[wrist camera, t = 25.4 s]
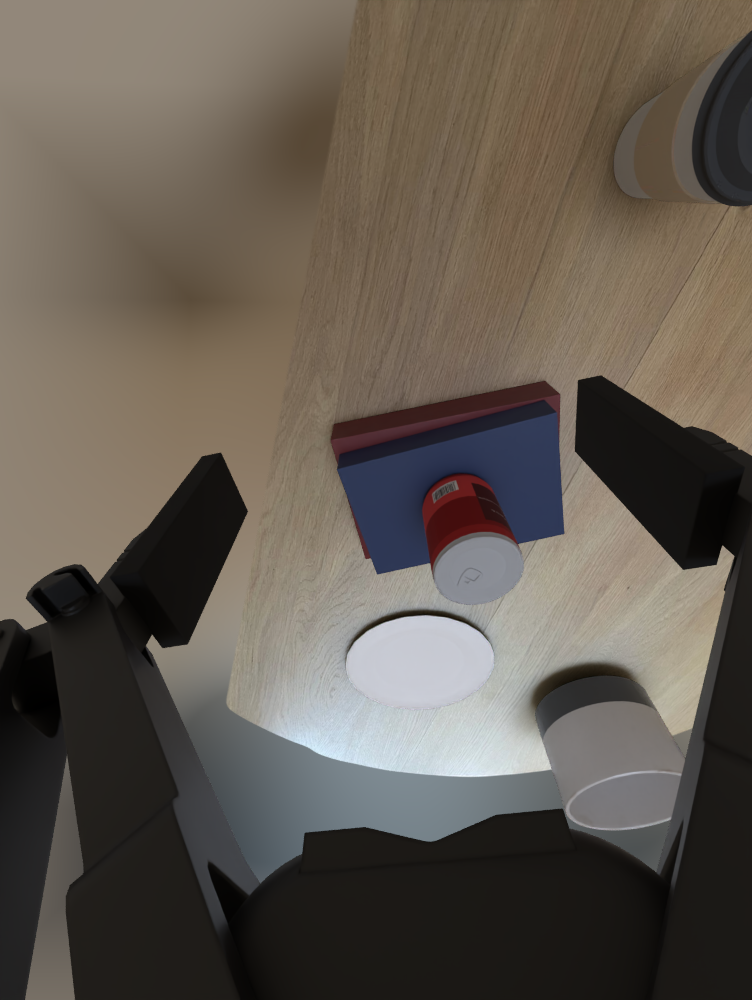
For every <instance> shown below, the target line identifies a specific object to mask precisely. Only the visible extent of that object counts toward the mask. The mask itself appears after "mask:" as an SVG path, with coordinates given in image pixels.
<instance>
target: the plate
mask: <svg viewBox="0 0 752 1000" xmlns="http://www.w3.org/2000/svg"><path fill="white" fill-rule="evenodd" d="M345 667H346V671H347V675H348V679H349V680H350V681H351V683H352V684H353V686H354V687H355V688H356V689H357V690H358V691H359V692H360V693H362V694H363V695H364V696H366V697H367V698H369V699H371V700H373V701H376V702H378V703H380V704H382V705H386V706H390V707H394V708H399V709H411V710H420V709H433V708H438V707H442V706H447V705H450V704H453V703H455V702H458V701H460V700H463V699H465V698H467V697H468V696H470V695H471V694H473V693H474V692H476V691H477V690H479V689H480V688H481V686H482V685H483V684H484V683H485V682H486V681H487V680H488V679H489V677H490V674H491V672H492V670H493V668H494V653H493V650H492V647H491V645H490V642H489V641H488V640H487V639H486V638H485V637H484V636H483V634H482V633H481V632H480V631H478V630H477V629H475V628H473V627H472V626H470V625H468V624H467V623H465V622H462V621H459V620H455V619H452V618H449V617H445V616H435V615H413V616H403V617H400V618H396V619H392V620H388V621H385V622H383V623H381V624H379V625H377V626H375V627H373V628H371V629H369V630H367V631H366V632H365V633H364V634H362V635H361V636H360V637H359V638H358V639H357V640H356V641H355V642H354V643H353V645H352V647H351V648H350V650H349V652H348V654H347V660H346V665H345Z"/></svg>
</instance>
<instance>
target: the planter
mask: <svg viewBox="0 0 752 1000" xmlns="http://www.w3.org/2000/svg"><path fill="white" fill-rule="evenodd" d="M535 719H536V723H537V726H538V729H539V732H540V735H541V738H542V741H543V744H544V747H545V750H546V753H547V756H548V759H549V762H550V765H551V769H552V771H553V774H554V778H555V781H556V784H557V787H558V790H559V793H560V796H561V799H562V802H563V805H564V808H565V811H566V814H567V815H568V817H569V818H570V819H571V820H572V821H574V822H575V823H577V824H579V825H581V826H584V827H588V828H593V829H600V830H628V829H636V828H642V827H647V826H651V825H655V824H659V823H662V822H665V821H668V820H670V819H671V817H672V813H673V809H674V805H675V800H676V796H677V792H678V788H679V784H680V779H681V775H682V771H683V767H684V763H685V757H684V755H683V753H682V752H681V750H680V748H679V747H678V745H677V743H676V742H675V740H674V738H673V736H672V735H671V733H670V731H669V730H668V728H667V726H666V725H665V723H664V721H663V719H662V718H661V716H660V714H659V713H658V711H657V709H656V708H655V706H654V704H653V702H652V701H651V699H650V697H649V696H648V694H647V692H646V691H645V689H644V688H643V687H642V686H641V685H640V684H638V683H637V682H635V681H633V680H630V679H627V678H623V677H617V676H595V677H588V678H583V679H579V680H576V681H572V682H570V683H567V684H565V685H562V686H560V687H558V688H557V689H555V690H553V691H552V692H550V693H549V694H548V695H547V696H545V697H544V698H543V699H542V701H541V702H540V703H539V705H538V706H537V709H536V712H535Z"/></svg>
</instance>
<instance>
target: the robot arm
mask: <svg viewBox="0 0 752 1000" xmlns="http://www.w3.org/2000/svg"><path fill="white" fill-rule="evenodd" d="M575 452H576V453H577V454H578V455H579V456H580V457H581V458H582V459H583V461H584V462H585V463H586V464H587V465H588V466H589V467H590V468H591V469H592V470H593V472H594V473H595V474H596V475H597V476H598V477H599V478H600V479H601V480H602V481H603V482H604V484H605V485H606V486H607V487H608V488H609V489H610V490H611V491H612V492H613V493H614V495H615V496H616V497H617V498H618V499H619V500H620V501H621V502H622V503H623V504H624V505H625V507H626V508H627V509H628V510H629V511H630V512H631V513H632V514H633V515H634V516H635V518H636V519H637V520H638V521H639V522H640V523H641V524H642V525H643V526H644V527H645V529H646V530H647V531H648V532H649V533H650V534H651V535H652V536H653V537H654V538H655V539H656V541H657V542H658V543H659V544H660V545H661V546H662V547H663V548H664V549H665V550H666V552H667V553H668V554H669V555H670V556H671V557H672V558H673V559H674V560H675V561H676V562H677V564H678V565H679V566H680V567H681V568H682V569H683V570H685V569H692V568H699V567H705V566H712V565H717V561H718V558H719V554H720V551H721V548H722V545H723V546H724V547H725V548H726V549H727V550H729V551H730V552H731V553H732V554H733V555H734V560H733V563H732V566H731V569H730V572H729V575H728V578H727V581H726V585H725V588H724V591H725V595H724V599H723V603H722V607H721V611H720V616H719V620H718V624H717V628H716V632H715V637H714V641H713V645H712V649H711V653H710V658H709V662H708V666H707V670H706V674H705V679H704V683H703V687H702V691H701V695H700V700H699V704H698V708H697V712H696V716H695V721H694V725H693V729H692V733H691V738H690V742H689V746H688V750H687V754H686V758H685V763H684V767H683V771H682V775H681V779H680V784H679V788H678V792H677V796H676V800H675V805H674V809H673V813H672V817H671V821H670V825H669V829H668V833H667V836H666V839H665V843H664V846H663V849H662V853H661V857H660V860H659V864H658V868H657V872H655V871H654V870H652V869H651V868H650V867H648V866H647V865H646V864H644V863H643V862H642V861H640V860H639V859H637V858H636V857H634V856H633V855H631V854H629V853H628V852H626V851H625V850H623V849H621V848H620V847H618V846H616V845H614V844H612V843H610V842H607V841H605V840H603V839H601V838H599V837H596V836H593V835H590V834H587V833H584V832H582V831H577V830H573V829H569V826H568V823H567V820H566V817H565V814H564V811H563V809H553V810H543V811H533V812H522V813H511V814H501V815H495V816H492V817H490V818H488V819H486V820H483V821H481V822H479V823H476V824H474V825H472V826H469V827H467V828H465V829H462V830H461V831H458V832H455V833H453V834H451V835H449V836H446V837H444V838H442V839H439V840H437V841H433V842H426V841H421V840H417V839H413V838H408V837H404V836H400V835H395V834H391V833H387V832H383V831H379V830H375V829H370V828H366V827H362V828H351V829H340V830H329V831H319V832H309V833H305V835H304V844H303V852H302V854H301V855H299V856H297V857H295V858H293V859H292V860H290V861H288V862H287V863H285V864H284V865H282V866H281V867H279V868H278V869H277V870H275V871H274V872H273V873H272V874H270V875H269V876H268V877H267V878H266V879H265V880H264V881H263V882H262V883H261V884H260V883H259V881H258V879H257V878H256V876H255V875H254V873H253V872H252V870H251V868H250V867H249V865H248V864H247V862H246V860H245V858H244V856H243V854H242V852H241V849H240V847H239V845H238V843H237V841H236V838H235V836H234V834H233V832H232V829H231V827H230V825H229V823H228V821H227V819H226V816H225V814H224V812H223V810H222V807H221V805H220V803H219V801H218V799H217V796H216V794H215V792H214V790H213V788H212V785H211V783H210V781H209V779H208V777H207V774H206V772H205V770H204V768H203V766H202V763H201V761H200V759H199V757H198V755H197V752H196V750H195V748H194V746H193V743H192V741H191V739H190V737H189V735H188V732H187V730H186V728H185V726H184V724H183V722H182V720H181V717H180V715H179V713H178V710H177V708H176V706H175V704H174V701H173V699H172V697H171V695H170V693H169V690H168V688H167V686H166V684H165V682H164V679H163V677H162V675H161V673H160V671H159V668H158V666H157V664H156V662H155V660H154V657H153V655H152V653H151V652H150V651H149V650H148V648H147V647H146V644H147V643H148V641H149V639H150V637H151V635H153V636H154V637H155V639H156V640H157V641H158V643H159V644H160V645H161V647H162V648H167V647H173V646H180V645H187V644H188V642H189V640H190V638H191V636H192V634H193V632H194V629H195V627H196V625H197V623H198V620H199V618H200V616H201V614H202V611H203V609H204V607H205V605H206V603H207V601H208V598H209V596H210V594H211V592H212V590H213V587H214V585H215V583H216V581H217V579H218V576H219V574H220V572H221V570H222V568H223V565H224V563H225V561H226V559H227V556H228V554H229V552H230V550H231V548H232V545H233V543H234V541H235V539H236V537H237V534H238V532H239V530H240V528H241V525H242V523H243V521H244V519H245V516H246V515H247V512H248V511H247V508H246V506H245V504H244V502H243V500H242V497H241V495H240V493H239V491H238V489H237V486H236V484H235V482H234V480H233V478H232V476H231V473H230V471H229V469H228V467H227V465H226V463H225V460H224V458H223V456H222V454H221V453H217V454H212V455H207V456H202V457H201V459H200V460H199V461H198V463H197V464H196V465H195V466H194V468H193V469H192V470H191V472H190V473H189V474H188V476H187V477H186V478H185V479H184V481H183V482H182V483H181V485H180V486H179V488H178V489H177V490H176V491H175V492H174V494H173V495H172V497H171V498H170V499H169V500H168V502H167V503H166V504H165V505H164V507H163V508H162V509H161V511H160V512H159V513H158V515H157V516H156V517H155V519H154V520H153V521H152V522H151V524H150V525H149V526H148V528H147V529H145V530H144V531H143V532H142V533H140V534H139V535H138V536H137V537H135V538H134V539H133V540H132V541H131V542H130V544H129V545H128V546H127V547H126V549H125V550H124V553H122V554H121V555H120V556H119V558H118V559H117V562H115V563H114V564H113V565H112V567H111V568H110V569H109V570H108V572H107V573H106V574H105V576H104V577H103V578H102V579H101V581H100V582H99V583H98V584H97V583H96V581H95V580H94V579H93V578H92V576H91V575H90V574H89V572H88V571H87V570H86V569H85V567H83V566H82V565H76V564H74V565H70V566H66V567H63V568H61V569H58V570H56V571H54V572H52V573H50V574H49V575H47V576H45V577H44V578H43V579H41V580H40V581H39V582H37V583H36V584H35V585H34V586H33V587H32V588H31V590H30V591H29V592H28V594H27V597H26V599H27V600H28V601H29V602H30V603H31V604H32V606H33V607H34V608H35V609H36V610H37V611H38V612H39V613H40V614H41V615H42V616H43V617H44V618H45V620H46V621H47V623H44V624H41V625H39V626H36V627H33V628H31V629H28V630H25V629H24V628H23V627H22V626H21V625H20V624H19V623H18V622H17V621H15V620H14V619H7V620H3V621H0V1000H25V996H26V989H27V984H28V978H29V972H30V966H31V960H32V955H33V949H34V943H35V938H36V931H37V926H38V920H39V914H40V908H41V902H42V897H43V891H44V885H45V879H46V873H47V868H48V862H49V856H50V850H51V844H52V838H53V833H54V827H55V821H56V815H57V809H58V803H59V797H60V792H61V786H62V780H63V774H64V768H65V763H66V757H67V756H68V763H69V770H70V776H71V783H72V790H73V797H74V804H75V810H76V816H77V824H78V831H79V837H80V844H81V851H82V857H83V864H84V865H83V866H84V873H83V875H82V876H80V877H79V878H78V879H77V880H76V881H74V882H73V883H72V884H71V885H70V887H69V890H68V892H67V895H66V919H67V927H68V936H69V947H70V956H71V966H72V975H73V983H74V994H75V1000H752V456H751V455H749V454H748V453H746V452H744V451H743V450H738V447H736V446H734V445H733V444H731V443H727V442H726V440H724V439H722V438H721V437H719V436H717V435H716V434H714V433H712V432H709V431H706V430H702V429H699V428H696V427H692V426H691V427H686V428H683V427H681V426H680V425H678V424H677V423H675V422H674V421H672V420H670V419H669V418H667V417H666V416H664V415H663V414H661V413H659V412H658V411H656V410H655V409H653V408H651V407H650V406H648V405H647V404H645V403H644V402H642V401H640V400H639V399H637V398H636V397H634V396H633V395H631V394H629V393H628V392H626V391H625V390H623V389H622V388H620V387H618V386H617V385H615V384H614V383H612V382H611V381H609V380H607V379H606V378H604V377H603V376H596V377H591V378H586V379H581V380H578V392H577V414H576V436H575Z"/></svg>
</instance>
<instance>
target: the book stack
mask: <svg viewBox="0 0 752 1000" xmlns="http://www.w3.org/2000/svg"><path fill="white" fill-rule="evenodd" d="M559 426H560V394H559V393H558V392H557V391H556V390H555V389H554V388H552V387H551V386H550V385H549V384H548V383H547V382H546V381H543V382H538V383H533V384H528V385H523V386H518V387H514V388H509V389H504V390H499V391H494V392H489V393H484V394H479V395H474V396H469V397H465V398H460V399H455V400H450V401H445V402H440V403H435V404H430V405H425V406H421V407H416V408H411V409H406V410H401V411H396V412H391V413H386V414H381V415H377V416H372V417H367V418H362V419H357V420H352V421H347V422H342V423H337V424H334V427H333V431H332V436H331V444H332V447H333V450H334V454H335V457H336V461H337V464H338V466H337V471H338V473H339V476H340V479H341V481H342V484H343V486H344V489H345V492H346V494H347V498H348V501H349V504H350V508H351V511H352V515H353V518H354V521H355V525H356V528H357V531H358V535H359V538H360V542H361V545H362V548H363V552H364V555H365V558H366V559H369V558H371V559H372V562H373V565H374V567H375V570H376V572H377V574H381V573H386V572H391V571H395V570H400V569H405V568H409V567H414V566H418V565H423V564H428V563H430V558H429V552H428V545H427V539H426V533H425V527H424V521H423V513H422V508H423V503H424V500H425V498H426V495H427V493H428V492H429V490H430V489H431V488H432V487H433V485H434V484H436V483H437V482H438V481H440V480H441V479H443V478H445V477H448V476H451V475H454V474H471V475H474V476H477V477H479V478H481V479H482V480H483V481H485V482H486V483H488V485H489V486H490V487H491V488H492V490H493V492H494V494H495V496H496V498H497V500H498V502H499V504H500V507H501V509H502V511H503V513H504V515H505V517H506V519H507V522H508V524H509V526H510V528H511V530H512V532H513V534H514V537H515V539H516V541H517V543H518V544H520V543H524V542H529V541H534V540H538V539H543V538H547V537H552V536H557V535H561V534H564V522H563V505H562V488H561V471H560V453H559Z"/></svg>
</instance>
